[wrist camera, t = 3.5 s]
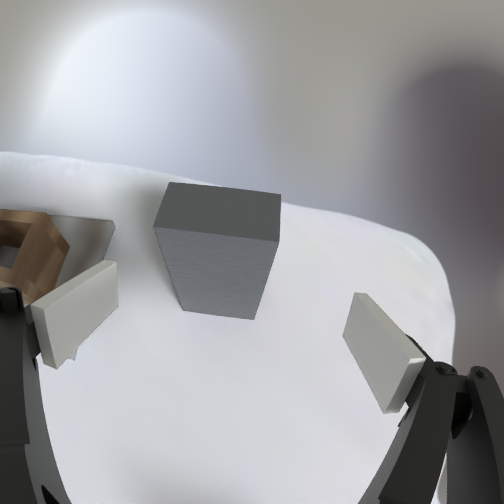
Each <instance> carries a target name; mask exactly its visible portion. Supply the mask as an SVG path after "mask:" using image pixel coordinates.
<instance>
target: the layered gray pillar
mask: <svg viewBox="0 0 504 504" xmlns="http://www.w3.org/2000/svg"><path fill="white" fill-rule="evenodd" d="M280 211H281V194H274V193H266V192H259V191H251V190H243V189H235V188H226V187H217V186H207V185H197V184H186V183H174V182H169V184H168V187H167V189H166V192H165V195H164V198H163V200H162V203H161V206H160V209H159V212H158V214H157V217H156V220H155V223H154V226H153V228H154V231H155V234H156V237H157V240H158V243H159V246H160V249H161V252H162V255H163V258H164V260H165V263H166V266H167V269H168V272H169V274H170V277H171V280H172V283H173V285H174V288H175V291H176V293H177V296H178V298H179V301H180V304H181V306H182V309H183V311H190V312H196V313H203V314H211V315H218V316H226V317H234V318H242V319H251V320H254V318H255V315H256V312H257V309H258V306H259V303H260V300H261V297H262V294H263V291H264V288H265V285H266V282H267V279H268V276H269V273H270V270H271V266H272V263H273V260H274V257H275V254H276V251H277V248H278V245H279V237H280Z"/></svg>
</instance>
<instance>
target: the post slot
mask: <svg viewBox="0 0 504 504" xmlns="http://www.w3.org/2000/svg"><path fill="white" fill-rule="evenodd" d="M114 229H115V225H114V223H113V221H106V220H96V219H86V218H76V217H66V216H56V215H47V213H41V212H30V211H18V210H6V209H0V289H1V288H4V287H18V288H20V289H21V291H22V297H23V303H24V307H26V306H27V305H29V304H30V303H32V302H34V301H35V300H38V298H40V297H41V296H43V295H45V294H46V293H48V292H49V291H52V290H54V289H56V288H58V287H59V286H61V285H63V284H64V283H66V282H68V281H69V280H71V279H73V278H74V277H76V276H78V275H79V274H81V273H83V272H84V271H86V270H88V269H90V268H91V267H93V266H95V265H96V264H98V263H100V262H102V261H103V258H104V255H105V252H106V250H107V247H108V244H109V242H110V239H111V236H112V234H113V231H114ZM76 352H77V349H76V350H75V351H74V352H73V353H72V354H71V355H70V356H69V357H68V358H69V359H72V360H75V357H76Z"/></svg>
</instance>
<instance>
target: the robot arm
mask: <svg viewBox="0 0 504 504" xmlns="http://www.w3.org/2000/svg"><path fill="white" fill-rule="evenodd" d="M117 307H118V293H117V261H112V260H106V259H105V260H104V261H102V262H100V263H98V264H96V265H95V266H93V267H91V268H90V269H88V270H86V271H84V272H83V273H81V274H79V275H78V276H76V277H74V278H73V279H71V280H69V281H68V282H66V283H64V284H63V285H61V286H59V287H58V288H56V289H54V290H52V291H49V292H48V293H46V294H45V295H43V296H41V297H40V298H38V300H35V301H34V302H32V303H30V304H29V305H27V306H26V307H24V303H23V297H22V291H21V289H20V288H18V287H4V288H1V289H0V504H72V503H71V501H70V500H69V498H68V496H67V494H66V491H65V489H64V486H63V483H62V480H61V477H60V474H59V471H58V468H57V464H56V461H55V458H54V454H53V450H52V446H51V442H50V438H49V434H48V429H47V425H46V420H45V414H44V409H43V403H42V396H41V389H40V381H39V372H38V363H37V360H36V356H37V355H38V354H39V353H40V352H41V356H42V359H43V363H44V364H45V365H48V366H50V367H52V368H55V369H58V368H59V367H60V366H61V365H62V364H63V362H64V361H65V360H66V359H67V358H68V357H69V356H70V355H71V354H72V353H73V352H74V351H75V350H76V349H77V348H78V347H79V346H80V345H81V343H82V342H83V341H84V340H85V339H86V338H87V337H88V336H89V335H90V334H91V333H92V332H93V331H94V330H95V329H96V328H97V327H98V326H99V325H100V324H101V323H102V322H103V321H104V320H105V319H106V318H107V317H108V316H109V315H110V314H111V313H112V312H113V311H114V310H115V309H116V308H117ZM343 338H344V340H345V342H346V343H347V345H348V347H349V349H350V351H351V353H352V355H353V356H354V358H355V360H356V362H357V364H358V366H359V368H360V369H361V371H362V373H363V375H364V377H365V379H366V381H367V383H368V385H369V387H370V388H371V390H372V392H373V394H374V396H375V398H376V400H377V402H378V404H379V406H380V408H381V410H382V412H383V414H390V413H398V412H399V411H400V410H401V408H402V406H403V404H404V402H406V403H407V405H408V407H409V408H408V410H407V411H406V413H405V415H404V416H403V418H402V420H401V421H400V423H399V425H398V427H399V429H398V431H397V433H396V436H395V438H394V440H393V442H392V444H391V446H390V448H389V450H388V452H387V454H386V456H385V458H384V460H383V462H382V464H381V466H380V467H379V469H378V471H377V473H376V475H375V476H374V478H373V480H372V482H371V483H370V485H369V487H368V488H367V490H366V492H365V493H364V495H363V496H362V498H361V500H360V501H359V503H358V504H431V501H432V498H433V495H434V492H435V489H436V486H437V483H438V480H439V476H440V473H441V469H442V466H443V462H444V458H445V454H446V453H447V504H504V398H503V396H502V393H501V391H500V389H499V386H498V384H497V382H496V380H495V378H494V375H493V374H492V373H491V372H490V371H489V370H488V369H487V368H485V367H480V366H474V367H472V368H471V370H470V372H469V374H468V376H462V375H458V374H457V371H456V370H455V368H454V367H452V366H451V365H449V364H447V363H444V362H434V361H433V360H432V359H431V358H430V357H429V355H428V354H427V353H426V352H425V351H424V350H422V348H421V347H420V346H419V345H418V343H417V342H416V341H415V340H414V339H413V338H411V337H410V336H408V335H407V334H405V333H403V331H402V330H401V329H400V328H399V327H398V326H397V325H396V324H395V323H394V322H393V321H392V320H391V319H390V317H389V316H388V315H387V314H386V313H385V312H384V311H383V310H382V309H381V308H380V307H379V306H378V305H377V304H376V303H375V302H374V301H373V300H372V299H371V297H370V296H369V295H368V294H366V293H356V292H354V296H353V300H352V304H351V308H350V311H349V315H348V319H347V322H346V326H345V329H344V333H343Z"/></svg>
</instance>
